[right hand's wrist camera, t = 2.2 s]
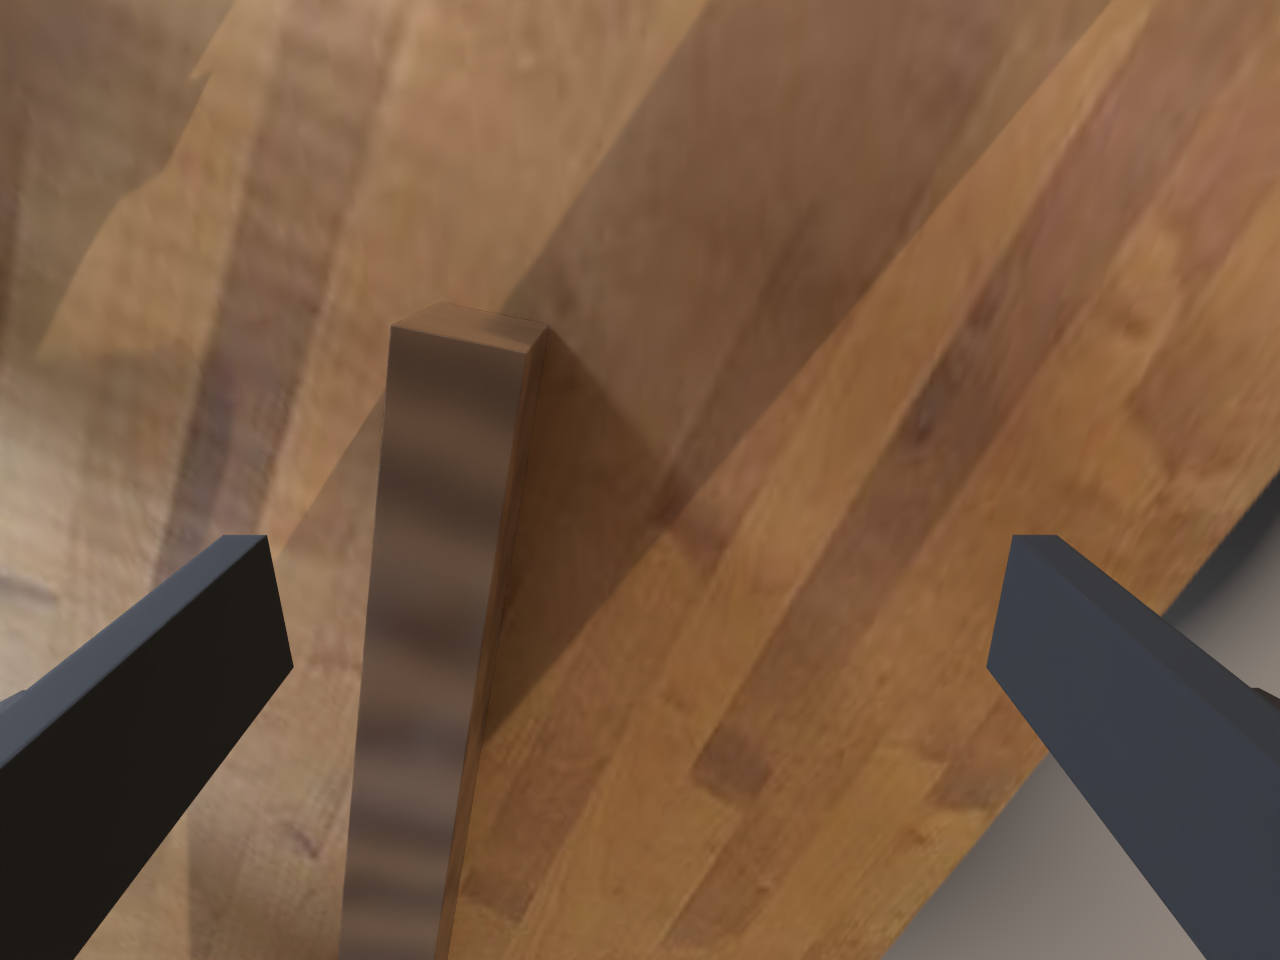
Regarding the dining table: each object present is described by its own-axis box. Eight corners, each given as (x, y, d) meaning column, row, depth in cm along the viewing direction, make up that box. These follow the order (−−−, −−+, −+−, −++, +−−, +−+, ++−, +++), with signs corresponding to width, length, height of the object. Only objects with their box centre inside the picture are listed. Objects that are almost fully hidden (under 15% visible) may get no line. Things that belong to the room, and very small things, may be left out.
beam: (440, 301, 36) (390, 324, 29) (549, 324, 37) (527, 352, 30) (366, 991, 54) (324, 1112, 47) (440, 1002, 55) (410, 1122, 47)
